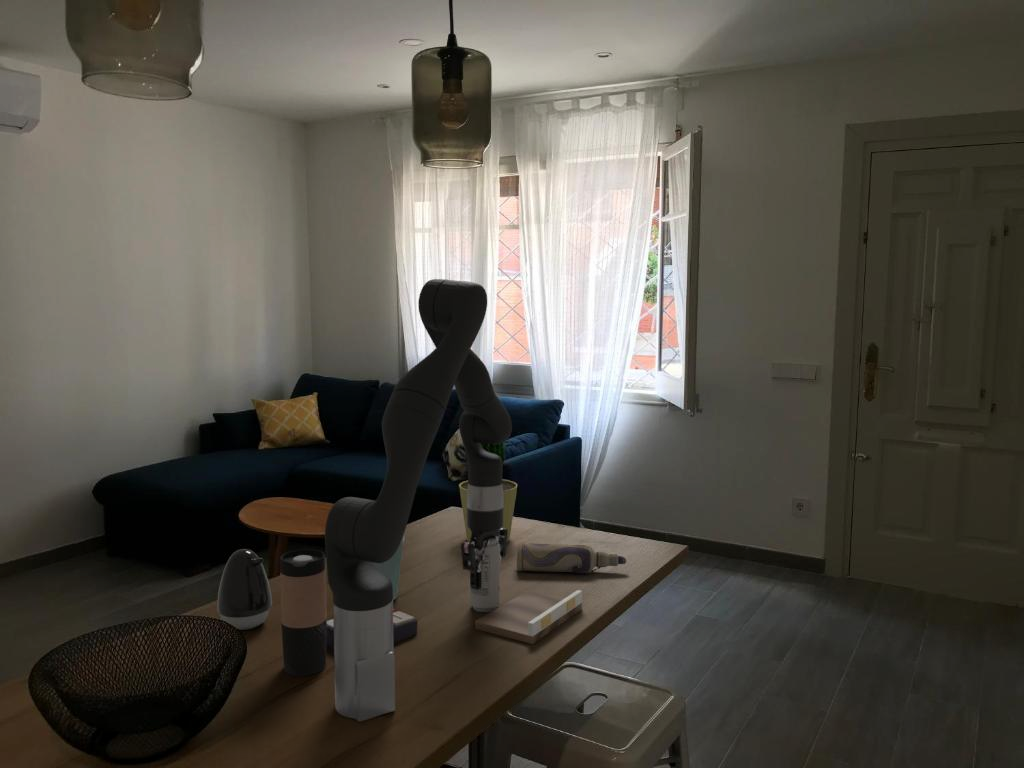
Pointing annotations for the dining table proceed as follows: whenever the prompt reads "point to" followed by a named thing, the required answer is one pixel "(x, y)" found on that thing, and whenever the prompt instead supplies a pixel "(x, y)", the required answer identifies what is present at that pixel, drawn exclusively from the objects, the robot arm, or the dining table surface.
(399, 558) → the disposable coffee cup
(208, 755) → the dining table surface
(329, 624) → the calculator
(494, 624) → the shelf board
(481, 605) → the energy drink can
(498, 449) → the potted cactus
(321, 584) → the travel mug
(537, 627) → the price rail
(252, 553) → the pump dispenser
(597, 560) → the decorative bottle
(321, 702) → the dining table surface
